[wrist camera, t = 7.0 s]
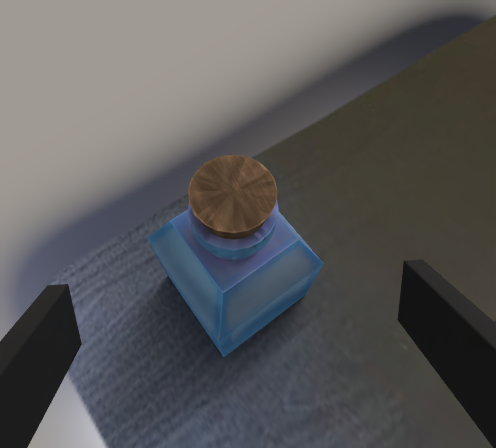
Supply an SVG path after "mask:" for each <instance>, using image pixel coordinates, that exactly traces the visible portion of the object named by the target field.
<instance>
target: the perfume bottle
mask: <svg viewBox="0 0 496 448" xmlns="http://www.w3.org/2000/svg"><path fill="white" fill-rule="evenodd" d="M188 196H189V206H188V210H187V211H185V212H183V213H182V214H180V215H179V216H177V217H175V218H174V219H172V220H170V221H169V222H168V223H166V224H165V225H164V226H162V227H161V228H160V229H158V230H157V231H156V232H154V233H153V234H152V235H150V236H149V237H148V238H147V239H148V240H149V242H150V244H151V246H152V248H153V250H154V251H155V253H156V255H157V257H158V259H159V260H160V262H161V264H162V266H163V268H164V269H165V271H166V273H167V275H168V276H169V278H170V279H171V281H172V282H173V284H174V285H175V287H176V288H177V290H178V291H179V293H180V294H181V296H182V297H183V299H184V300H185V301H186V303H187V304H188V306H189V307H190V309H191V310H192V312H193V313H194V315H195V316H196V318H197V319H198V321H199V322H200V323H201V325H202V326H203V328H204V329H205V331H206V332H207V334H208V335H209V337H210V338H211V340H212V341H213V343H214V344H215V345H216V347H217V348H218V350H219V351H220V353H221V354H222V356H223V357H225V356H226V355H228V354H229V353H230V352H232V351H233V350H234V349H236V348H237V347H238V346H239V345H241V344H242V343H243V342H245V341H246V340H247V339H249V338H250V337H251V336H253V335H254V334H255V333H256V332H258V331H259V330H260V329H262V328H263V327H264V326H266V325H267V324H268V323H270V322H271V321H272V320H273V319H275V318H276V317H277V316H279V315H280V314H281V313H283V312H284V311H285V310H287V309H288V308H289V307H291V306H292V305H293V304H294V303H296V302H297V301H298V300H300V299H301V298H302V297H304V296H305V294H306V292H307V291H308V289H309V287H310V286H311V284H312V282H313V281H314V279H315V277H316V276H317V274H318V272H319V271H320V269H321V268H322V266H323V264H324V263H323V262H322V261H321V260H320V259H319V257H318V256H317V255H316V254H315V253H314V252H313V250H312V249H311V248H310V247H309V246H308V245H307V243H306V242H305V241H304V240H303V239H302V238H301V236H300V235H299V234H298V233H297V232H296V231H295V230H294V228H293V227H292V226H291V225H290V224H289V223H288V221H287V220H286V219H285V218H284V217H283V216H282V214H281V213H280V212H279V211H278V204H277V187H276V183H275V180H274V178H273V176H272V175H271V173H270V172H269V170H268V169H267V168H266V167H264V166H263V165H262V164H261V163H259V162H258V161H256V160H253V159H251V158H249V157H246V156H239V155H227V156H220V157H217V158H215V159H213V160H210V161H208V162H207V163H205V164H204V165H203V166H202V167H200V168H199V169H198V170H197V172H196V173H195V175H194V176H193V178H192V179H191V182H190V186H189V190H188Z"/></svg>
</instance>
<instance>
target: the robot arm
mask: <svg viewBox="0 0 496 448" xmlns="http://www.w3.org/2000/svg"><path fill="white" fill-rule="evenodd" d="M398 321H399V322H400V324H401V325H402V326H403V328H404V329H405V330H406V332H407V333H408V334H409V336H410V337H411V338H412V340H413V341H414V342H415V344H416V345H417V346H418V348H419V349H420V350H421V352H422V353H423V354H424V356H425V357H426V358H427V360H428V361H429V362H430V364H431V365H432V366H433V368H434V369H435V370H436V372H437V373H438V374H439V376H440V377H441V378H442V380H443V381H444V382H445V384H446V385H447V386H448V388H449V389H450V390H451V392H452V393H453V394H454V396H455V397H456V398H457V400H458V401H459V402H460V404H461V405H462V406H463V408H464V409H465V410H466V412H467V413H468V414H469V416H470V417H471V418H472V420H473V421H474V422H475V424H476V425H477V426H478V428H479V429H480V430H481V432H482V433H483V434H484V436H485V437H486V438H487V440H488V441H489V442H490V444H491V445H492V446H493V448H496V322H494V321H492V320H491V319H490V318H489V317H488V316H487V315H486V314H484V313H483V312H482V311H481V310H480V309H479V308H478V307H476V306H475V305H474V304H473V303H472V302H471V301H469V300H468V299H467V298H466V297H465V296H464V295H463V294H461V293H460V292H459V291H458V290H457V289H456V288H455V287H453V286H452V285H451V284H450V283H449V282H448V281H447V280H445V279H444V278H443V277H442V276H441V275H440V274H439V273H437V272H436V271H435V270H434V269H433V268H432V267H431V266H429V265H428V264H427V263H426V262H425V261H424V260H411V261H404V266H403V275H402V284H401V294H400V303H399V313H398ZM81 345H82V344H81V339H80V335H79V330H78V326H77V322H76V317H75V313H74V308H73V304H72V299H71V295H70V291H69V286H68V284H63V285H49V286H47V287H46V288H45V289H44V290H43V292H42V293H41V294H40V295H39V296H38V297H37V299H36V300H35V301H34V302H33V303H32V305H31V306H30V307H29V308H28V309H27V310H26V312H25V313H24V314H23V315H22V316H21V318H20V319H19V320H18V321H17V322H16V323H15V325H14V326H13V327H12V328H11V329H10V331H9V332H8V333H7V334H6V335H5V336H4V338H3V339H2V340H1V341H0V448H27V447H28V445H29V443H30V441H31V440H32V437H33V436H34V434H35V432H36V430H37V428H38V426H39V424H40V422H41V421H42V419H43V417H44V415H45V413H46V411H47V409H48V407H49V405H50V403H51V402H52V400H53V398H54V396H55V394H56V392H57V390H58V388H59V386H60V384H61V383H62V380H63V379H64V377H65V375H66V373H67V371H68V369H69V367H70V365H71V364H72V362H73V360H74V358H75V356H76V354H77V352H78V350H79V348H80V346H81Z"/></svg>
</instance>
